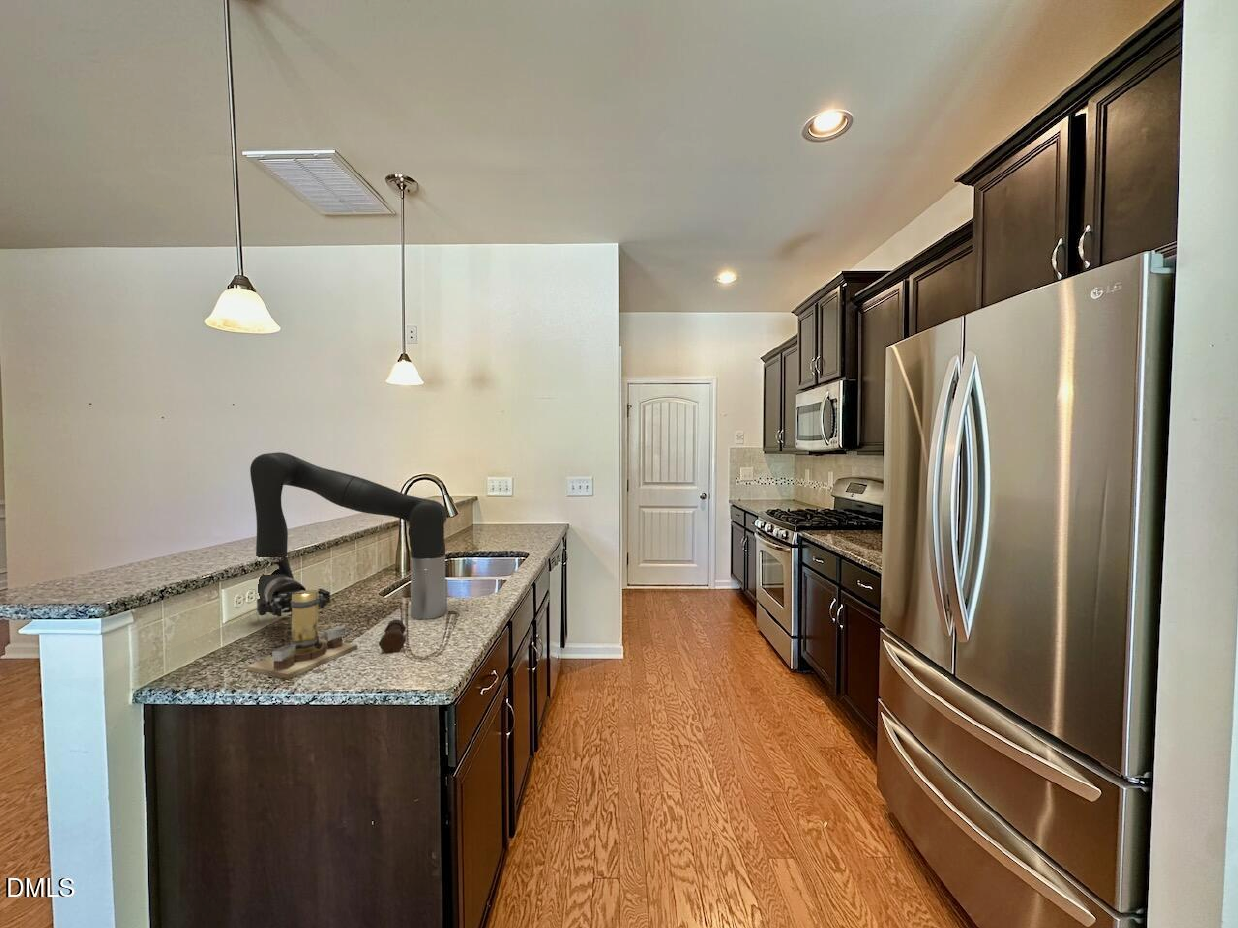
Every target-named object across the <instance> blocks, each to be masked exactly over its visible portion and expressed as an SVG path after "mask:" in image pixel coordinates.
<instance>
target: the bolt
mask: <svg viewBox="0 0 1238 928" xmlns="http://www.w3.org/2000/svg"><path fill="white" fill-rule="evenodd" d="M406 630H407V627H406V626H405V623H403V621H402V619H392V620H389V622H388V623H387V625H386V627H385V629H384V631H383V632H384V633H383V635H382V637H381V639H380V641H379V643H378V645H379V647H380V649H381V650H382V652H383V653H384V654H396V653H399V652H401V651H402V648H403V647H404V645H405V644H406V642H407V638H406V637H405V636H404V633H405V632H406Z"/></svg>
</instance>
